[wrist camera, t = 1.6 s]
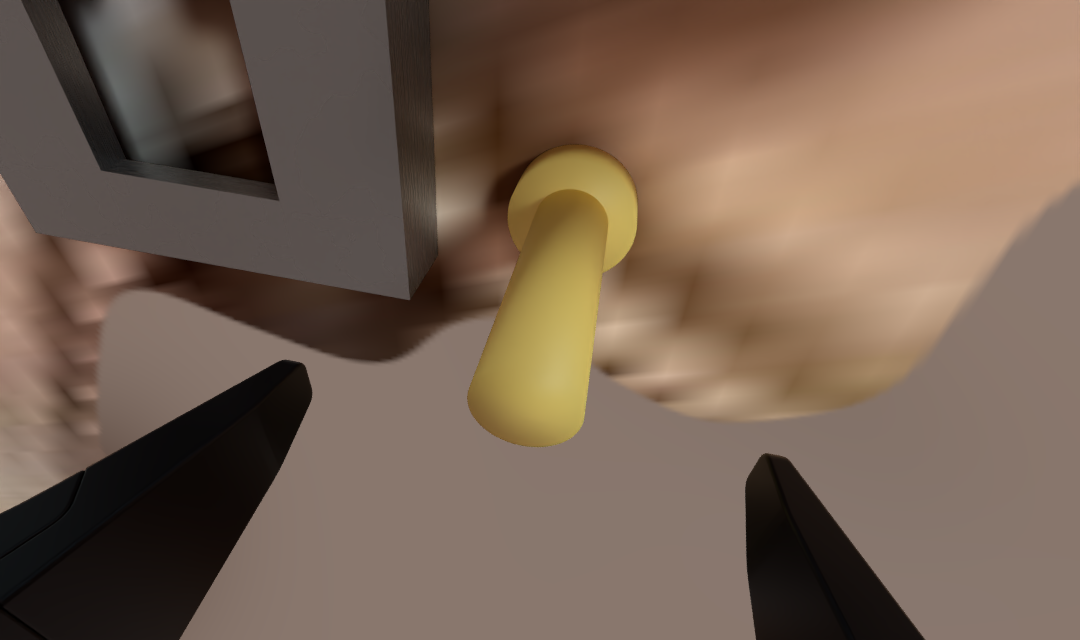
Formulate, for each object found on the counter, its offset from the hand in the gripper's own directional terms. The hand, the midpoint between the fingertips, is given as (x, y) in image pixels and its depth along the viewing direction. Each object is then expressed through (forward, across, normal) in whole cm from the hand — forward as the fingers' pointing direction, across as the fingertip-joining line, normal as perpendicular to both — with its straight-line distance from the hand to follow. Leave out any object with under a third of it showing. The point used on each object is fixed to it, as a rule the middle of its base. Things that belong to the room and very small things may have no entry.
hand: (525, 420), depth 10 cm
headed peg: (+10, 0, 0) cm, 10 cm away
